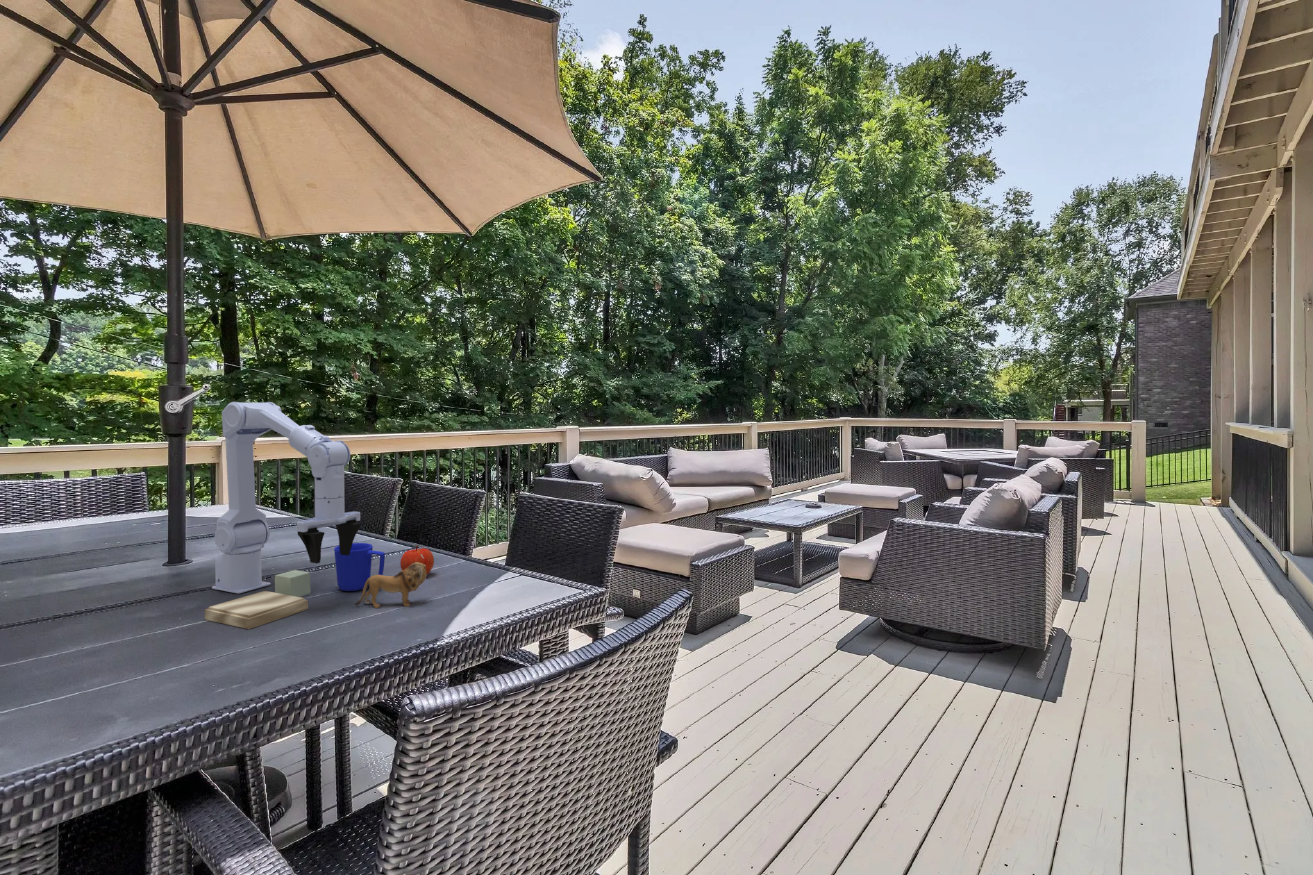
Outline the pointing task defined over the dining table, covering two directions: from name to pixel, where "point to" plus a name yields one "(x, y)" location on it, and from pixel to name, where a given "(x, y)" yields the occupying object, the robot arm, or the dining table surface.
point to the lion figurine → (395, 584)
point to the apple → (417, 558)
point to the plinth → (256, 609)
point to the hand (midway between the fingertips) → (330, 558)
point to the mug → (356, 566)
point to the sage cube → (293, 583)
